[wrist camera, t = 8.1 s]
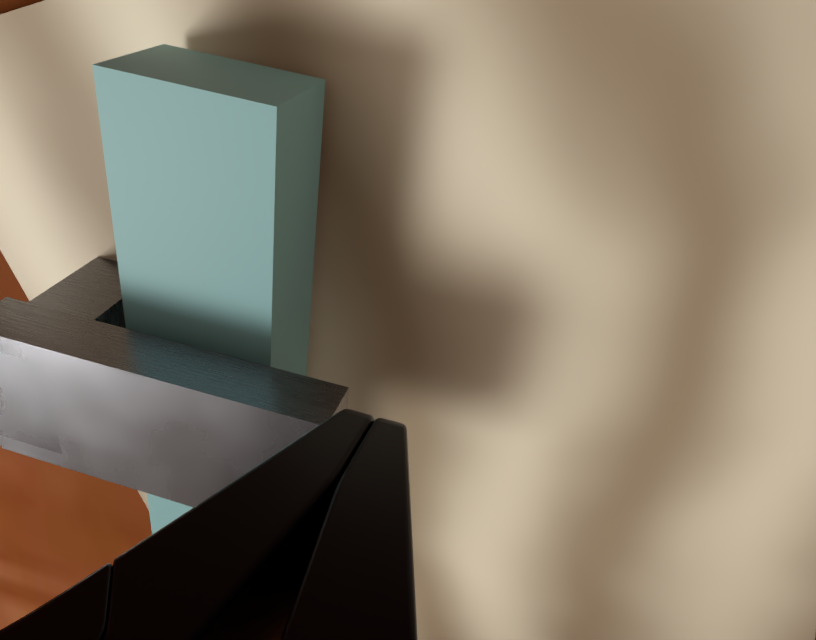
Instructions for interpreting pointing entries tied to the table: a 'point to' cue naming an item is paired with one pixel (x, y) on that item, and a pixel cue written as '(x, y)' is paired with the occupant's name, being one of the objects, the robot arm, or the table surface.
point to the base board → (523, 281)
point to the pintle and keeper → (141, 395)
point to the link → (213, 204)
